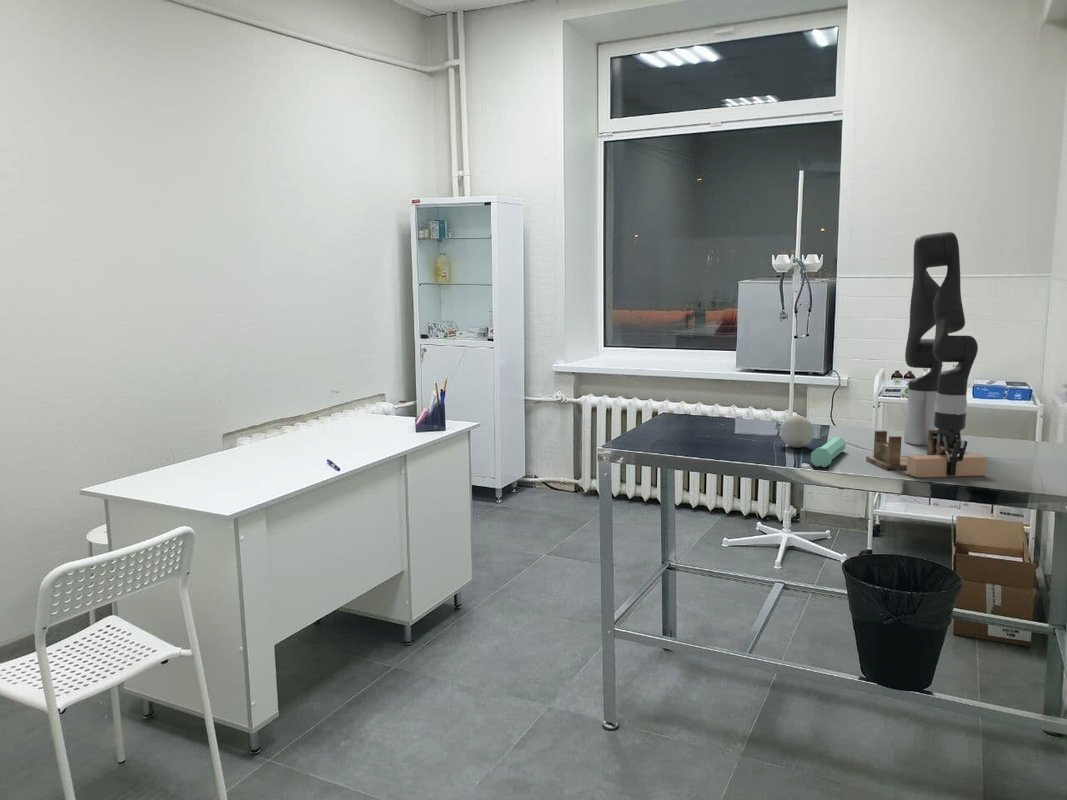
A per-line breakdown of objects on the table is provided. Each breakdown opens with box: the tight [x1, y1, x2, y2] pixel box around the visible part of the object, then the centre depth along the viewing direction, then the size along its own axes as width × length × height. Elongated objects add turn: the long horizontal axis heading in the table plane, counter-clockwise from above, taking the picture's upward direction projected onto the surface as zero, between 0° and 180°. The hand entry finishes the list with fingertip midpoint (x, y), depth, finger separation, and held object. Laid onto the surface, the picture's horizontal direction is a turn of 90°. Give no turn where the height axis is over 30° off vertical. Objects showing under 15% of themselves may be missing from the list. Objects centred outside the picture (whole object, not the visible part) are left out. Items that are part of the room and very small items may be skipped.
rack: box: [865, 429, 954, 471], centre depth 237 cm, size 12×22×9 cm, turn 94°
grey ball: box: [779, 415, 815, 449], centre depth 261 cm, size 10×10×10 cm
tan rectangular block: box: [905, 453, 987, 478], centre depth 225 cm, size 4×20×5 cm, turn 96°
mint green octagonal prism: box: [810, 436, 846, 468], centre depth 246 cm, size 6×6×25 cm
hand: (945, 473), depth 225 cm, fingers closed on tan rectangular block, 4 cm apart
